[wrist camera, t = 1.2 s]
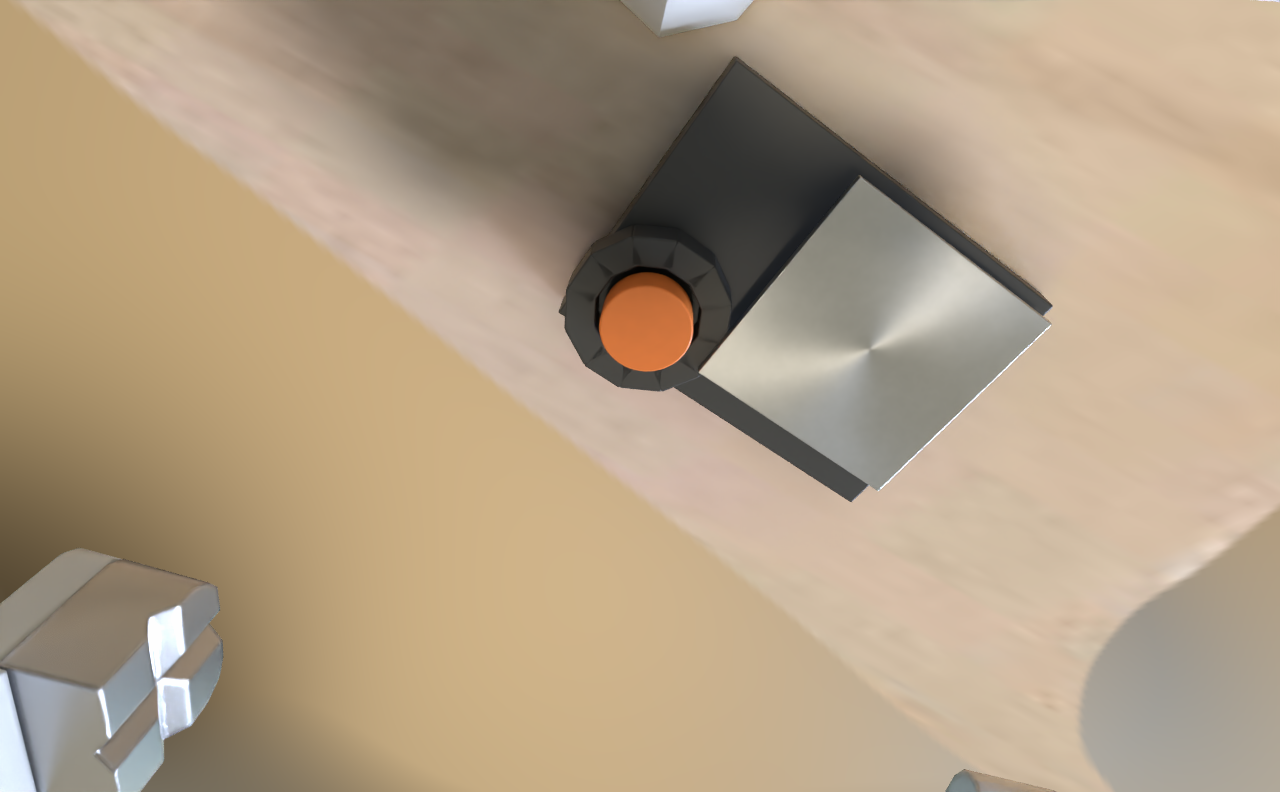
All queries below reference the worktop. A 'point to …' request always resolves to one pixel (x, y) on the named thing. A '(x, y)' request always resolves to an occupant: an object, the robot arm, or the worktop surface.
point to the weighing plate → (872, 337)
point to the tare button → (646, 321)
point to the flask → (685, 13)
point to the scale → (738, 241)
